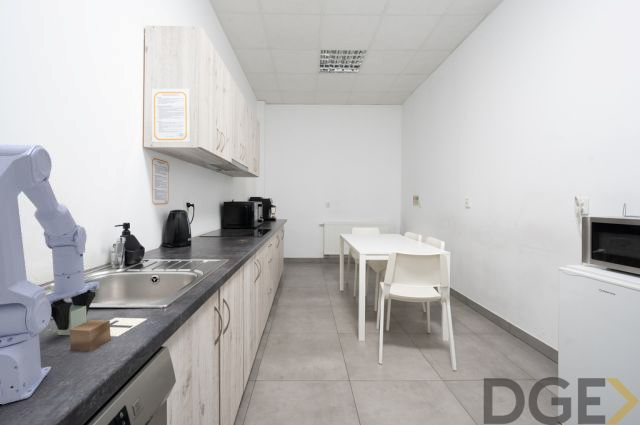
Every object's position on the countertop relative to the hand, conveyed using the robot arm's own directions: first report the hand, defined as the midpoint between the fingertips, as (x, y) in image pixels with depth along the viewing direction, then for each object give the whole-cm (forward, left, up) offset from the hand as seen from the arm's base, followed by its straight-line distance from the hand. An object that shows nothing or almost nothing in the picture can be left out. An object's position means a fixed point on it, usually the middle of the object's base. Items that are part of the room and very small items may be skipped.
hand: (72, 325), depth 71 cm
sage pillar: (0, 0, -2) cm, 2 cm away
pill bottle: (+16, +6, -2) cm, 17 cm away
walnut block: (-11, -6, -2) cm, 13 cm away
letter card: (-2, -10, -2) cm, 10 cm away
